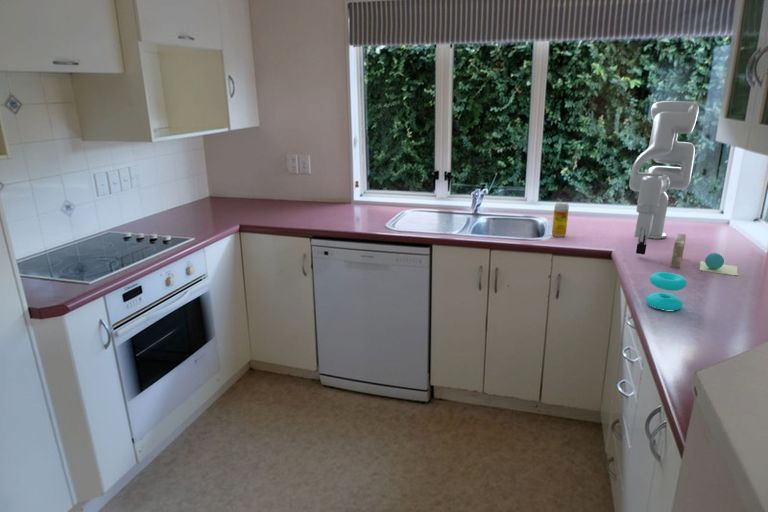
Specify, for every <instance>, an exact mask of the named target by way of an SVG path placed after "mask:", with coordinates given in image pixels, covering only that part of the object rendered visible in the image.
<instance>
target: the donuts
mask: <svg viewBox="0 0 768 512" xmlns="http://www.w3.org/2000/svg"><path fill="white" fill-rule="evenodd" d="M649 282H650V284H652V286H654V287H656V288H657V289H660V290H664V291H671V292H673V291H675V292H676V291H680V290H683V289H684V288H685V287H687V283H688V281H687V280H686V278H685V277H683V276H681V275H680V274H677V273H673V272H667V271H665V272H664V271H659V272H658V271H657V272H655V273H653V274H651V275H650V277H649ZM645 301H646V304H647V305H648V304H649V305H651V306H653V307H656V308H659V309H664V310H678V309H680V310H681V309H682V308H683V305H684V303H683V301H682V299H681V298H680V297H678V296H677V295H674V294H673V293H668V292H662V291H661V292H653V293H650V294H649V295H648V296H646V300H645ZM649 305H648V306H649ZM651 306H650V307H651ZM678 311H679V310H678Z"/></svg>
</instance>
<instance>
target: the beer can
mask: <svg viewBox="0 0 768 512" xmlns="http://www.w3.org/2000/svg"><path fill="white" fill-rule="evenodd" d="M569 207H570V206H569V203H568V202H563V201H557V202H555V204H554V209H553V219H552V228H551V234H552V236H553V235H554V237H556V236H557V238H563V236H564V237H565V236H566V235H567V227H568V219H569V218H568V217H569V209H570V208H569Z"/></svg>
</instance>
